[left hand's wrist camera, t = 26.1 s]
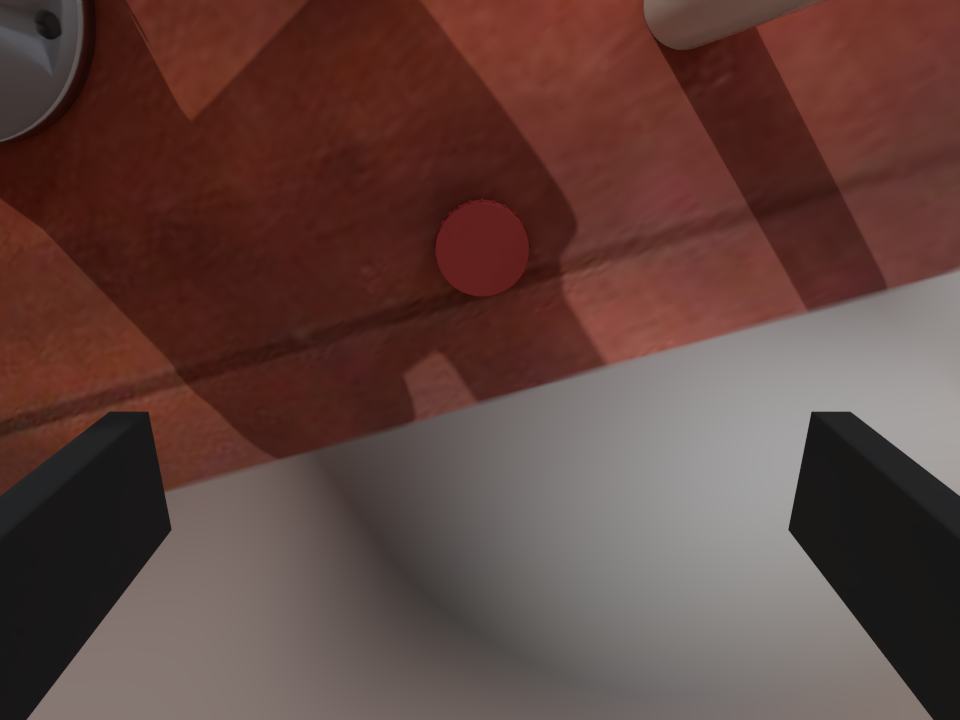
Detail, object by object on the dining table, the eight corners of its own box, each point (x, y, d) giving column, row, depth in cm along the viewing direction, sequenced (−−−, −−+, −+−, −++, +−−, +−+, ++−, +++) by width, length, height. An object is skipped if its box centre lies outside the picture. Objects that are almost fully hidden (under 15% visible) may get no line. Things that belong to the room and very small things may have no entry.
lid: (434, 198, 38) (432, 201, 36) (529, 197, 38) (531, 201, 36) (437, 290, 40) (435, 298, 38) (527, 290, 40) (529, 297, 38)
